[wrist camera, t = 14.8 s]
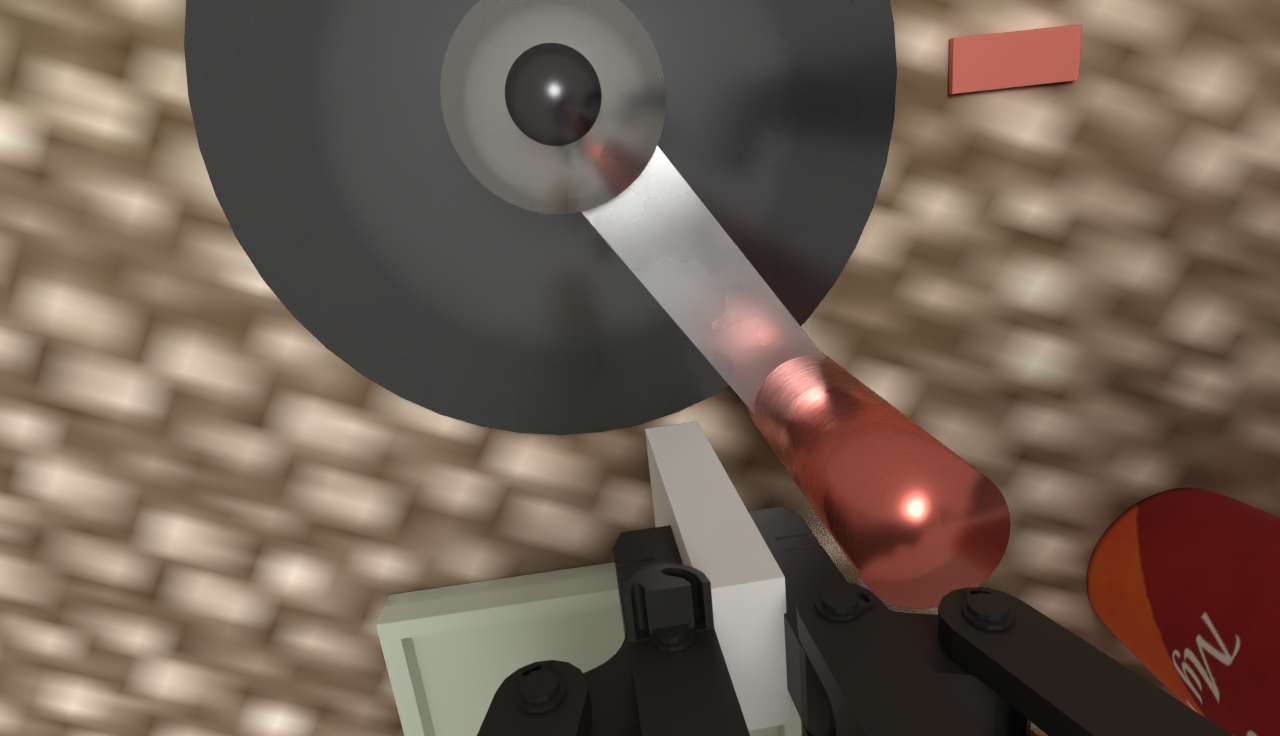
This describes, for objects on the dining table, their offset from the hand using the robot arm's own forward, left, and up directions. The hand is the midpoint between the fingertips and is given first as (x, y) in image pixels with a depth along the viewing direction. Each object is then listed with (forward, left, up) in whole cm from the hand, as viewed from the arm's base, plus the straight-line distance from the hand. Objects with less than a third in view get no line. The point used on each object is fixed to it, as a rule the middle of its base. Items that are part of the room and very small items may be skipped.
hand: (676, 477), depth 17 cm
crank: (-1, -5, -4) cm, 6 cm away
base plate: (+2, -9, -4) cm, 10 cm away
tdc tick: (-11, -9, -4) cm, 15 cm away
